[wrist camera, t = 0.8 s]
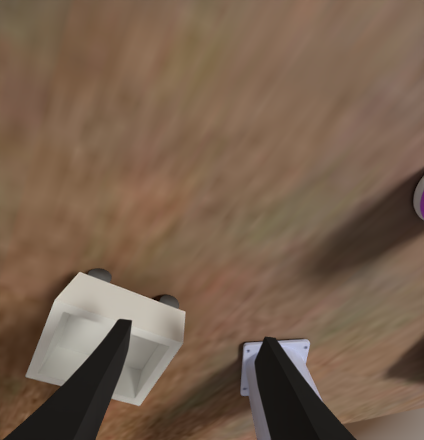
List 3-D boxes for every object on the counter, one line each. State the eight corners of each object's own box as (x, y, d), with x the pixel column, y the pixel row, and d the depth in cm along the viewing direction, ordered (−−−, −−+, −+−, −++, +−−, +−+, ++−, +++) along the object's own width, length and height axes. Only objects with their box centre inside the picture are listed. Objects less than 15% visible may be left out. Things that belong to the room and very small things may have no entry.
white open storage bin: (186, 297, 22) (183, 343, 17) (151, 352, 25) (139, 405, 20) (90, 259, 20) (54, 299, 15) (63, 324, 22) (25, 376, 17)
